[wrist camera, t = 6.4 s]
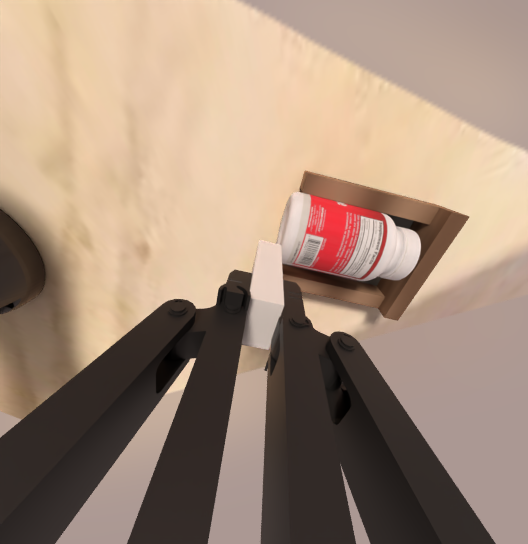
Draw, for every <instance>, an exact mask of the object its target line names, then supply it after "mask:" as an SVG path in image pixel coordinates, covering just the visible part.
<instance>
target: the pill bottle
mask: <svg viewBox="0 0 528 544" xmlns="http://www.w3.org/2000/svg"><path fill="white" fill-rule="evenodd" d="M276 244H280V245H281V252H282V263H283V264H287V265H292V266H296V267H301V268H306V269H310V270H314V271H319V272H323V273H327V274H332V275H336V276H340V277H345V278H349V279H353V280H358V281H368V280H372V279H374V278H376V277H377V276H378V277H381V278H384V279H390V280H401V279H403V278H405V277H406V276H407V275H408V274H410V272H411V271H412V270H413V269H414V267H415V265H416V264H417V261H418V259H419V256H420V250H421V242H420V238H419V236H418V234H417V233H416V232H415V231H413V230H410V229H406V228H402V227H398V226H395V223H394V222H393V220H392V219H391V218H390V217H389V216H388V215H386V214H383V213H380V212H377V211H373V210H369V209H365V208H361V207H357V206H353V205H349V204H345V203H341V202H337V201H333V200H329V199H325V198H321V197H317V196H313V195H309V194H305V193H301V192H294V193H292V194H291V195H290V197H289V199H288V201H287V204H286V207H285V210H284V213H283V216H282V220H281V224H280V228H279V233H278V238H277V243H276Z"/></svg>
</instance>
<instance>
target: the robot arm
mask: <svg viewBox="0 0 528 544" xmlns="http://www.w3.org/2000/svg"><path fill="white" fill-rule="evenodd" d="M44 282H45V271H44V266H43V263H42V260H41V258H40V255H39V253H38V251H37V250H36V248H35V246H34V245H33V243H32V242H31V240H30V239H29V237H28V236H27V235H26V234H25V232H24V231H23V230H22V229H21V228H20V227H19V226H18V225H17V224H16V223H15V222H14V221H13V220H12V219H11V218H10V217H9V216H8V215H6V214H5V213H4V212H3V211H1V210H0V314H3V313H6V312H9V311H12V310H15V309H17V308H19V307H20V306H22V305H24V304H25V303H27V302H28V301H30V300H32V299H33V298H35V297H36V296H37V295H38V294H39V293H40V292H41V290H42V289H43V286H44ZM241 345H246V346H251V347H256V348H261V349H266V350H269V348H270V345H271V352H270V355H269V358H268V361H267V364H266V366H265V371H267V369H268V376H267V378H268V379H267V401H266V425H265V450H264V451H265V452H264V474H263V499H262V523H261V524H262V525H261V544H356V541H355V536H354V531H353V526H352V521H351V516H350V511H349V506H348V501H347V496H346V491H345V486H344V481H343V476H342V471H341V466H342V469H343V472H344V474H345V477H346V479H347V482H348V485H349V488H350V490H351V493H352V496H353V498H354V501H355V503H356V506H357V509H358V511H359V514H360V517H361V519H362V522H363V525H364V527H365V530H366V533H367V535H368V538H369V541H370V543H371V544H495V542H494V541H493V539H492V538H491V536H490V535H489V533H488V532H487V530H486V529H485V528H484V526H483V524H482V523H481V521H480V520H479V519H478V517H477V516H476V514H475V513H474V511H473V510H472V508H471V507H470V505H469V504H468V502H467V501H466V499H465V498H464V496H463V495H462V494H461V492H460V491H459V489H458V488H457V486H456V485H455V483H454V482H453V480H452V479H451V477H450V476H449V474H448V473H447V471H446V470H445V468H444V467H443V466H442V464H441V463H440V461H439V460H438V458H437V457H436V455H435V454H434V452H433V451H432V449H431V448H430V446H429V445H428V444H427V442H426V441H425V439H424V438H423V436H422V435H421V433H420V432H419V430H418V429H417V427H416V426H415V424H414V423H413V421H412V420H411V418H410V417H409V415H408V414H407V412H406V411H405V410H404V408H403V407H402V405H401V404H400V402H399V401H398V399H397V398H396V396H395V395H394V393H393V392H392V390H391V389H390V387H389V386H388V385H387V383H386V382H385V380H384V379H383V377H382V376H381V374H380V373H379V371H378V370H377V368H376V367H375V365H374V364H373V362H372V361H371V359H370V358H369V357H368V355H367V354H366V352H365V351H364V349H363V348H362V346H361V345H360V343H359V342H358V341H357V340H356V339H355V338H354V337H352V336H351V335H349V334H347V333H344V332H339V331H338V332H334V333H332V334H331V336H330V337H329V336H327V335H325V334H322V333H320V332H318V331H317V330H315V329H314V328H313V325H312V323H311V321H310V320H309V319H308V318H307V317H306V316H305V311H304V305H303V300H302V293H301V288H300V287H299V286H298V284H297V283H296V282H291V281H287V280H283V271H282V252H281V245H280V244H276V243H272V242H268V241H263V240H259V243H258V247H257V252H256V256H255V260H254V264H253V269H252V273H248V272H243V271H239V270H234V271H233V272H231V273H230V274H229V277H228V280H227V282H226V284H224V285H222V286H221V287H220V288H219V290H218V296H217V303H216V305H215V306H213V307H210V308H205V309H196V307H195V306H194V304H193V303H191V302H189V301H188V300H183V299H174V300H169V301H167V302H165V303H164V304H162V305H161V306H160V307H159V308H157V309H156V310H155V311H154V312H153V313H151V314H150V315H149V316H148V317H146V318H145V319H144V320H143V321H142V322H140V323H139V324H138V325H137V326H136V327H134V328H133V329H132V330H131V331H129V332H128V333H127V334H126V335H125V336H123V337H122V338H121V339H120V340H119V341H117V342H116V343H115V344H114V345H112V346H111V347H110V348H109V349H108V350H106V351H105V352H104V353H103V354H102V355H100V356H99V357H98V358H97V359H95V360H94V361H93V362H92V363H91V364H89V365H88V366H87V367H86V368H84V369H83V370H82V371H81V372H80V373H78V374H77V375H76V376H75V377H74V378H72V379H71V380H70V381H69V382H67V383H66V384H65V385H64V386H63V387H61V388H60V389H59V390H58V391H57V392H55V393H54V394H53V395H52V396H50V397H49V398H48V399H47V400H46V401H44V402H43V403H42V404H41V405H40V406H38V407H37V408H36V409H35V410H33V411H32V412H31V413H30V414H29V415H27V416H26V417H25V418H24V419H23V420H21V421H20V422H19V423H18V424H16V425H15V426H14V427H13V428H12V429H10V430H9V431H8V432H7V433H6V434H4V435H3V436H2V437H1V438H0V544H55V543H56V541H57V540H58V539H59V537H60V536H61V535H62V533H63V531H65V529H66V528H67V526H68V525H69V524H70V522H71V521H72V520H73V518H74V517H75V516H76V514H77V513H78V512H79V510H80V509H81V507H82V506H83V505H84V503H85V502H86V501H87V499H88V498H89V497H90V495H91V494H92V493H93V491H94V490H95V488H96V487H97V486H98V484H99V483H100V481H101V480H102V479H103V478H104V476H105V475H106V473H107V472H108V471H109V469H110V468H111V467H112V465H113V464H114V463H115V461H116V460H117V459H118V457H119V456H120V454H121V453H122V452H123V450H124V449H125V448H126V446H127V445H128V443H129V442H130V441H131V439H132V438H133V437H134V435H135V434H136V433H137V431H138V430H139V428H140V427H141V426H142V424H143V423H144V422H145V420H146V419H147V417H148V416H149V415H150V414H151V412H152V411H153V409H154V408H155V407H156V405H157V404H158V403H159V401H160V400H161V399H162V397H163V396H164V395H165V393H166V392H167V390H168V389H169V388H170V386H171V385H172V384H173V382H174V381H175V380H176V378H177V377H178V376H179V374H180V373H181V371H182V370H183V369H184V367H185V366H186V365H187V363H188V362H189V360H190V358H196V360H195V363H194V366H193V368H192V371H191V374H190V376H189V379H188V382H187V385H186V387H185V390H184V393H183V395H182V398H181V401H180V404H179V406H178V409H177V411H176V414H175V417H174V419H173V422H172V425H171V428H170V430H169V433H168V435H167V439H166V441H165V443H164V446H163V449H162V452H161V454H160V457H159V460H158V462H157V465H156V468H155V471H154V473H153V476H152V478H151V481H150V484H149V486H148V489H147V492H146V495H145V497H144V500H143V502H142V505H141V508H140V511H139V513H138V516H137V519H136V521H135V524H134V527H133V529H132V532H131V535H130V538H129V540H128V543H127V544H208V538H209V532H210V527H211V521H212V515H213V509H214V503H215V497H216V491H217V486H218V479H219V474H220V467H221V462H222V456H223V451H224V445H225V439H226V433H227V427H228V421H229V415H230V409H231V404H232V398H233V392H234V386H235V380H236V374H237V368H238V363H239V357H240V351H241ZM340 464H341V466H340Z"/></svg>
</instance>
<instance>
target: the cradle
mask: <svg viewBox="0 0 528 544" xmlns="http://www.w3.org/2000/svg"><path fill="white" fill-rule="evenodd" d="M300 189H301V191H302V192H303V193H305V194H309V195H313V196H317V197H321V198H325V199H329V200H333V201H337V202H341V203H345V204H349V205H353V206H357V207H361V208H365V209H369V210H373V211H377V212H380V213H383V214H386V215H388V216H389V217H390V218H391V219H392V220H393V222H394V223H395V226H398V227H402V228H406V229H410V230H413V231H415V232H416V233H417V234H418V236H419V238H420V242H421V250H420V256H419V259H418V261H417V264H416V265H415V267H414V269H413V270H412V271H411V272H410V274H408V275H407V276H406V277H405V278H403V279H401V280H390V279H384V278H381V277H378V276H377V277H376V278H374V279H372V280H368V281H358V280H353V279H349V278H345V277H340V276H336V275H332V274H327V273H323V272H319V271H314V270H310V269H306V268H301V267H296V266H292V265H287V264H283V263H282V271H283V280H287V281H291V282H296V283H297V284H298V286H299V287H300V288H301V291H302V292H307V293H311V294H316V295H320V296H325V297H330V298H334V299H339V300H343V301H348V302H352V303H357V304H361V305H366V306H370V307H375V308H378V309H379V310H380V312H381V313H382V315H383V317H384V318H389V319H393V320H399V318H400V317H401V315H402V314H403V312H404V311H405V309H406V308H407V307H408V305H409V304H410V302H411V301H412V299H413V298H414V296H415V295H416V294H417V292H418V291H419V289H420V288H421V286H422V285H423V283H424V282H425V281H426V279H427V278H428V276H429V275H430V273H431V272H432V270H433V269H434V268H435V266H436V265H437V263H438V262H439V260H440V259H441V257H442V256H443V255H444V253H445V252H446V250H447V249H448V247H449V246H450V244H451V243H452V242H453V240H454V239H455V237H456V236H457V234H458V233H459V231H460V230H461V229H462V227H463V226H464V224H465V223H466V221H467V220H468V218H469V216H466V215H463V214H461V213H458V212H455V211H452V210H450V209H447V208H444V207H442V206H439V205H435V204H431V203H428V202H424V201H420V200H416V199H412V198H408V197H405V196H401V195H397V194H393V193H389V192H385V191H381V190H378V189H374V188H370V187H366V186H362V185H358V184H354V183H351V182H347V181H343V180H339V179H335V178H331V177H328V176H324V175H320V174H316V173H312V172H308V171H305V172H304V176H303V179H302V182H301V186H300Z"/></svg>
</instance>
